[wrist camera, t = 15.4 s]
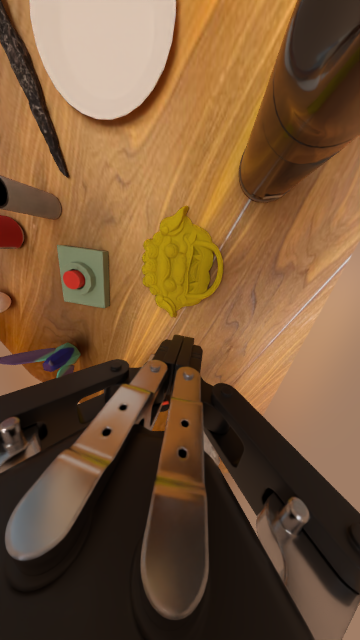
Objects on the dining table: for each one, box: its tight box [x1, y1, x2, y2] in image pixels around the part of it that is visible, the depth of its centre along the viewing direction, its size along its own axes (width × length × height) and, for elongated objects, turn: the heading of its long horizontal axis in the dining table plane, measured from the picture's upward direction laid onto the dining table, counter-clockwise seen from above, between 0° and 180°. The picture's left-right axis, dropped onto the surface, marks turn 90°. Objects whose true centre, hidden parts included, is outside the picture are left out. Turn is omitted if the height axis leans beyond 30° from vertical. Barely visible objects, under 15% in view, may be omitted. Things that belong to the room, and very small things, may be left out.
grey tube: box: [0, 175, 61, 219], centre depth 31 cm, size 4×4×10 cm
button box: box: [57, 245, 110, 308], centre depth 38 cm, size 12×10×4 cm
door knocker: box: [142, 206, 223, 317], centre depth 34 cm, size 16×16×4 cm
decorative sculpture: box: [0, 343, 81, 378], centre depth 41 cm, size 17×18×15 cm
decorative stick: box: [0, 0, 69, 178], centre depth 27 cm, size 3×5×30 cm
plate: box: [29, 0, 176, 120], centre depth 25 cm, size 21×21×2 cm
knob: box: [160, 390, 172, 412], centre depth 41 cm, size 4×4×6 cm
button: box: [63, 270, 85, 289], centre depth 36 cm, size 4×4×2 cm
